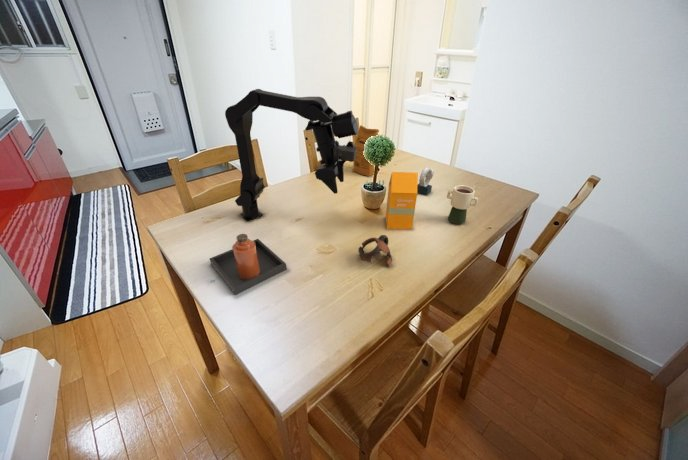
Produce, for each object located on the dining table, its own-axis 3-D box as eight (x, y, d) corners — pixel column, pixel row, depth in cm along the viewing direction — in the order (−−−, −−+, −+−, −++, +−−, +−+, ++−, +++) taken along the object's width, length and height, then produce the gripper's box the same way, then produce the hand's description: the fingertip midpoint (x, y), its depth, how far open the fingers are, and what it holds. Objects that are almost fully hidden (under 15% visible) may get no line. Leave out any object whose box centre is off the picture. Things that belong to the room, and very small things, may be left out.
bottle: (234, 271, 86) (226, 235, 80) (254, 263, 90) (247, 227, 83) (244, 282, 83) (236, 246, 76) (264, 273, 86) (257, 237, 79)
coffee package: (363, 165, 159) (365, 122, 147) (381, 172, 151) (384, 127, 139) (349, 170, 153) (350, 126, 141) (367, 178, 145) (370, 131, 133)
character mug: (474, 222, 112) (483, 190, 105) (467, 230, 108) (476, 197, 101) (445, 212, 118) (452, 182, 111) (438, 220, 113) (445, 188, 106)
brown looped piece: (389, 275, 88) (376, 256, 84) (363, 275, 94) (350, 257, 90) (401, 245, 95) (390, 226, 91) (376, 247, 101) (364, 229, 97)
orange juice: (385, 217, 114) (390, 167, 103) (408, 218, 114) (416, 168, 103) (387, 229, 108) (392, 176, 97) (411, 229, 107) (420, 177, 96)
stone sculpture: (432, 190, 135) (437, 167, 129) (425, 197, 129) (429, 172, 123) (421, 187, 137) (424, 164, 131) (413, 193, 132) (416, 169, 126)
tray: (211, 265, 90) (209, 258, 88) (259, 245, 98) (257, 238, 97) (236, 296, 79) (234, 288, 78) (286, 271, 88) (286, 263, 86)
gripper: (344, 145, 82) (357, 196, 90) (356, 127, 98) (366, 172, 105) (307, 152, 86) (323, 201, 93) (324, 135, 101) (336, 177, 109)
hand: (339, 187), depth 100 cm, fingers open, 9 cm apart
